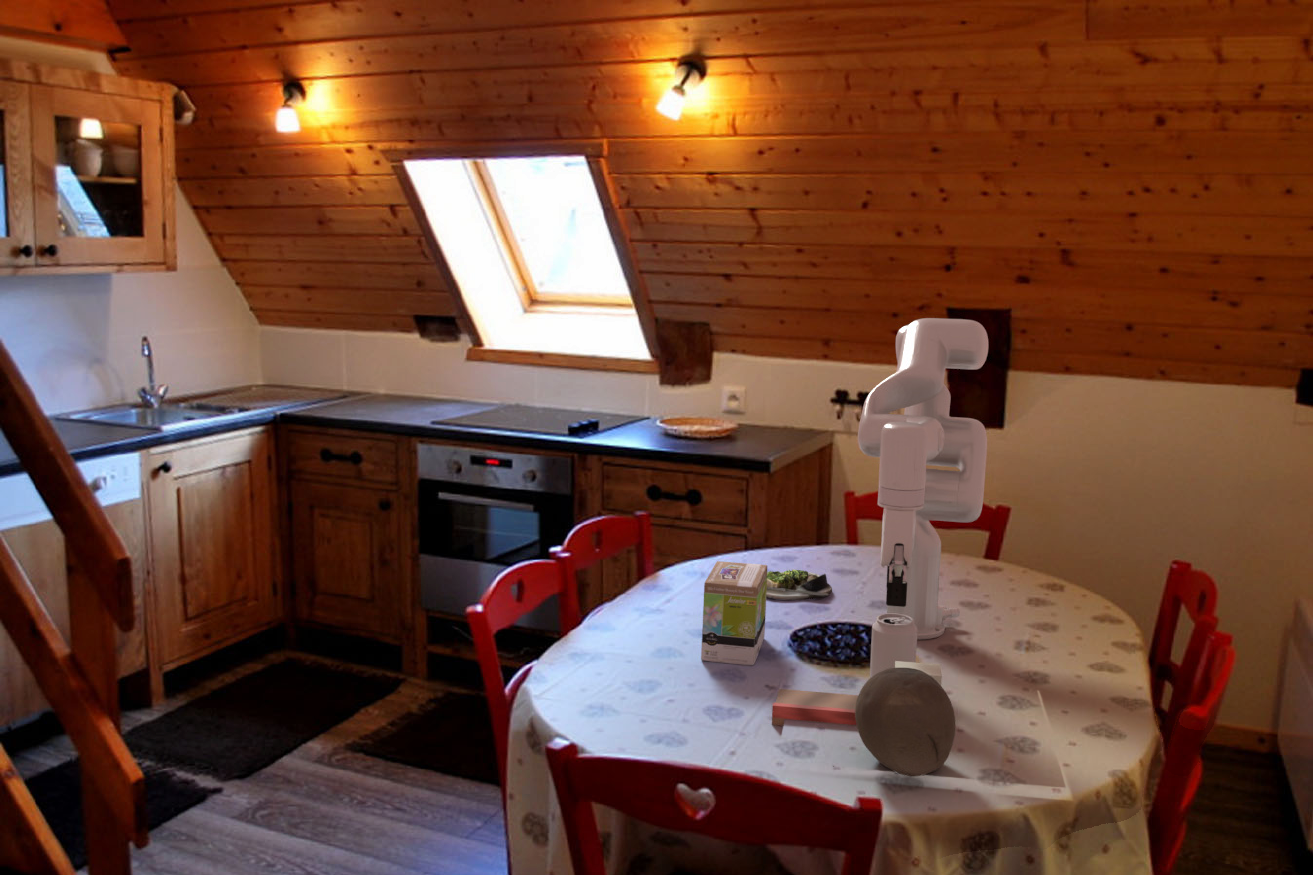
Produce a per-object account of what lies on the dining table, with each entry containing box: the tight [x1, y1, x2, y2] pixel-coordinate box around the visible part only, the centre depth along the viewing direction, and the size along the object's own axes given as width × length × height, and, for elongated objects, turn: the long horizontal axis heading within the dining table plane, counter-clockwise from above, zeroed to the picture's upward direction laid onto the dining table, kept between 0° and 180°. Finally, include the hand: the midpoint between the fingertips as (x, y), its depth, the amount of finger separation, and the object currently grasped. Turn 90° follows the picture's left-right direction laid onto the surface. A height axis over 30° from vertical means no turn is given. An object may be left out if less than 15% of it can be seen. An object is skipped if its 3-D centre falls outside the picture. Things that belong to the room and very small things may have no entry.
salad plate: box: [766, 569, 833, 601], centre depth 259 cm, size 19×18×5 cm
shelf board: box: [771, 688, 859, 727], centre depth 194 cm, size 26×12×3 cm, turn 79°
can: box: [869, 612, 918, 679], centre depth 206 cm, size 8×8×12 cm
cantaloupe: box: [855, 668, 956, 778], centre depth 174 cm, size 14×14×15 cm
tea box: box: [700, 560, 768, 666], centre depth 222 cm, size 15×10×15 cm, turn 168°
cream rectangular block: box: [895, 661, 943, 686], centre depth 191 cm, size 7×5×8 cm
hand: (895, 597), depth 204 cm, fingers open, 9 cm apart
